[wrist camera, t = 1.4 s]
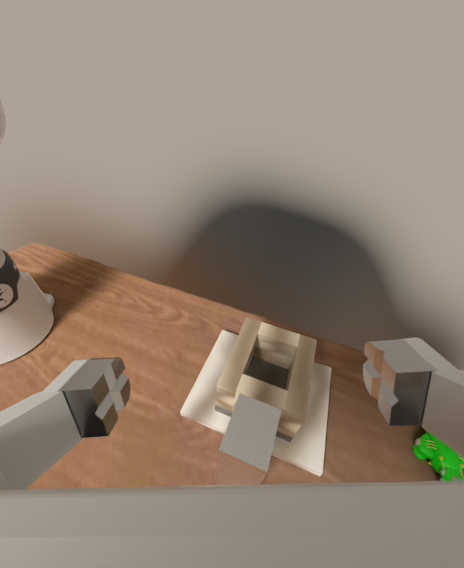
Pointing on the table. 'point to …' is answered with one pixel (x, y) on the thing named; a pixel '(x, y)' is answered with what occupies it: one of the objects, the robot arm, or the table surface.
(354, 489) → the robot arm
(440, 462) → the crocodile figurine
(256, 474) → the grey rectangular bar
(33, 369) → the table surface
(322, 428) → the square socket base
